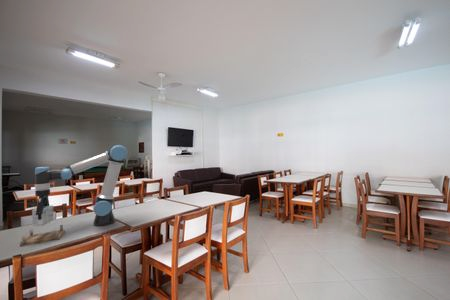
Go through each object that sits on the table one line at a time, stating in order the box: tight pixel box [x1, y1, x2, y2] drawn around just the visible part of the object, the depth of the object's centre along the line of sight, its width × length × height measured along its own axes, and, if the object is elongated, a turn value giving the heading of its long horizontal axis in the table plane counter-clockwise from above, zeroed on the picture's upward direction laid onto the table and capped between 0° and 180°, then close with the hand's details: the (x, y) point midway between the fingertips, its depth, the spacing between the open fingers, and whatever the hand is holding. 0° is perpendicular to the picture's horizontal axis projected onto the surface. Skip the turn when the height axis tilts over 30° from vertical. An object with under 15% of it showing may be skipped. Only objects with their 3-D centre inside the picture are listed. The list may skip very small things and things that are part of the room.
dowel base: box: [19, 224, 66, 247], centre depth 140 cm, size 20×15×6 cm
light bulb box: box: [31, 205, 55, 227], centre depth 140 cm, size 11×7×11 cm, turn 10°
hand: (43, 221), depth 140 cm, fingers closed on light bulb box, 12 cm apart
